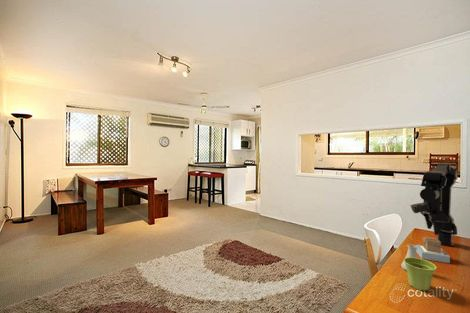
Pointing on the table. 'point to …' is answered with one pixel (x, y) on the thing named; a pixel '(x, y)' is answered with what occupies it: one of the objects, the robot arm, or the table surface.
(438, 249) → the walnut block
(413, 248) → the flask
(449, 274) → the table surface
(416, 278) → the plant pot
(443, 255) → the plinth
